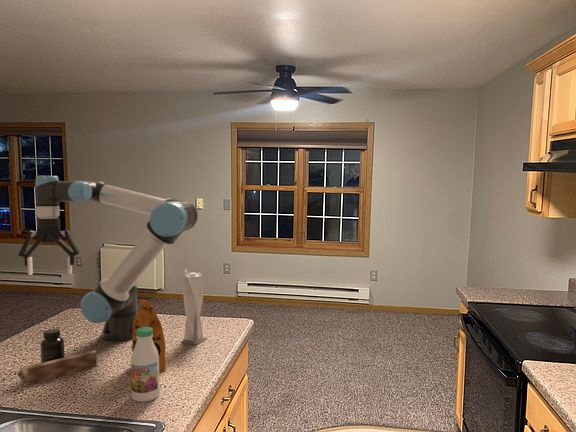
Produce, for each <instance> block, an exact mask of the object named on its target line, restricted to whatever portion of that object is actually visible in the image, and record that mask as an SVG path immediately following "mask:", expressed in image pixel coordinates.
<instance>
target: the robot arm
mask: <svg viewBox="0 0 576 432" xmlns="http://www.w3.org/2000/svg"><path fill="white" fill-rule="evenodd" d="M34 189H35V190H34V191H35V199H36V205H35V206H36V207H35V209H36V217H37V219H36V229H37V230H36V231H35V230H32V229H31V230H28V231H27V233H26V234H27V235H26V239H25V241H24V242H23V244H22V246H21V249H19V253H18V256H19V257H23V260H24V266H25V267H27V276H32V275H33V274H34V271H33V269H34V268H33V267H34V266H33V265H34V264H33V256H31V255H32V254H33V253H34V252H35V251H36V249H37V248H38V247H39V246H40V245H41V244H42V243H43V244H46V243H50V244H53V243H56V244H57V245H58V246H59V247H60V248H61V249H62V250H63V251H64V252H65V253H66V254H67V255H68V256H67V259H66V261H67V275H71V274H72V273H73V266H74V265H75V257H76V256H78V255H80V250H79V248H78V246H77V245H76V242H74V240H73V238H72V236H71V232H70V231H71V230H69V229H66V230H61V219H60V218H59V217H60V213H61V212H60V203H61V202H63V203H64V202H66V203H68V202H69V203H86V202H89V201H91V202H97V203H101V204H105V205H109V206H112V207H115V208H116V207H117V208H120V209H124V210H129V211H132V212H136V213H139V214H143V215H146V216H150V217H149V220H148V222H147V223H146V224H145V227H146V231H145V233H143V235H142V236H141V237H140V238H139V240H138V241H137V242H136V244H135V245H134V246H133V247H132V249H130V251H129V252H128V253H127V255H126V256H125V257H124V258H123V260H122V261H121V262H120V263H119V265H118V266H117V267H116V268H115V270H114V271H113V272H112V273H111V275H110V276H109V277H104V278H102V279H101V280H100V281H99V283H98V284H97V285H96V287H94V289H93V290H92V291H90V292H88V293H86V294H85V295H84V296H83V297H82V298H81V300H80V310H81V314H82V315H83V317H84V318H85V319H86V320H87V321H89V322H90V323H92V324H102V323H103V327H102V329H101V336H102V337H101V338H103V339H104V340H106V341H113V342H118V341H119V342H121V341H128V340H132V338H133V321H134V319H135V317H136V315H137V313H138V285H137V282H138V281H139V279H140V278H141V277H142V276H143V274H144V273H145V272H146V271H147V270H148V268H149V267H150V266H151V265H152V263H153V262H154V261H155V260H156V259H157V258H158V256H159V255H160V254H161V253H162V251H163V250H164V249H165V248H166V247H167V246H171V245H174V243H175V242H176V241H177V240H178V239H179V237H180V236H181V235H182V234H183V233H184V232H187V231H189V230H191V229H192V228H193V227H195V225H196V223H197V221H198V218H199V213H198V210H197V208H196V206H195V205H194V204H193V203H192V202H190V201H188V200H182V199H176V198H173V197H172V198H171V197H168V198H161V197H157V196H153V195H150V194H147V193H146V194H145V193H142V192H138V191H134V190H130V189H126V188H122V187H118V186H114V185H112V184H111V185H110V184H105V182H103V181H99V180H90V181H89V180H82V181H81V180H76V181H75V180H74V181H72V180H69V181H66V180H65V181H64V180H63V181H62V180H60V179H59V176H58V175H37V176H36V177H35V186H34ZM35 236H37V238H38V239H37V240H36V241H35V242H34V244H32V246H31V247H30V248H29V246H30V244H31V242H32V240H33V238H34V237H35ZM61 236H63V237H65V240H66V241H67V243H68V245H69V246H68V245H67V243H65V242H64V240H63V239H62V238H61ZM28 248H29V249H28Z"/></svg>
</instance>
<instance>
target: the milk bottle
mask: <svg viewBox="0 0 576 432" xmlns="http://www.w3.org/2000/svg"><path fill="white" fill-rule="evenodd" d="M152 336H153V329H152V328H151V327H141V328H138V329H137V330H136V338H137V343H136V346H135V348H134V350H133V352H132V353H131V359H130V360H131V362H130V378H131V380H130V383H131V384H130V385H131V386H130V387H131V388H130V389H131V390H130V391H131V398H132V400H133V401H135V402H139V403H145V402H151V401H153V400H155V399H157V398H158V397H159V395H160V372H159V356H158V351H157V349H156V347H155V345H154V343H153V340H152Z"/></svg>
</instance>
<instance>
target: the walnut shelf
mask: <svg viewBox="0 0 576 432" xmlns="http://www.w3.org/2000/svg"><path fill="white" fill-rule="evenodd" d="M97 363H98V361H97V351H96V350H90V351H87V352H86V351H85V352H80V353H77V354H72V355H67V356H65V358H60V359H56V360H52V361H48V362H44V363H41V362H39V363H35V364H31V365H27V366H21V367H20V369H19V370H20V373H21V374H22V376H23V378H24V379H25V381H26V382H27V384H28V385H33V384H35V383H36V384H37V383H39V382H43V381H47V380H51V379H55V378H58V377H59V378H60V377H61V376H66V375H70V374H73V373H78V372H81V371H85V370H89V369H93V368H97V367H98V365H97Z"/></svg>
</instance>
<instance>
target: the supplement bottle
mask: <svg viewBox="0 0 576 432" xmlns="http://www.w3.org/2000/svg"><path fill="white" fill-rule="evenodd" d="M42 337H43V339H41V342H40V346H39V347H40V363H44V362H48V361H52V360H56V359H60V358H65V357H66V356H65V340H64V338H63V337H62V336H61V330H60V328H50V329H45V330H44V331H43V335H42Z"/></svg>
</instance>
